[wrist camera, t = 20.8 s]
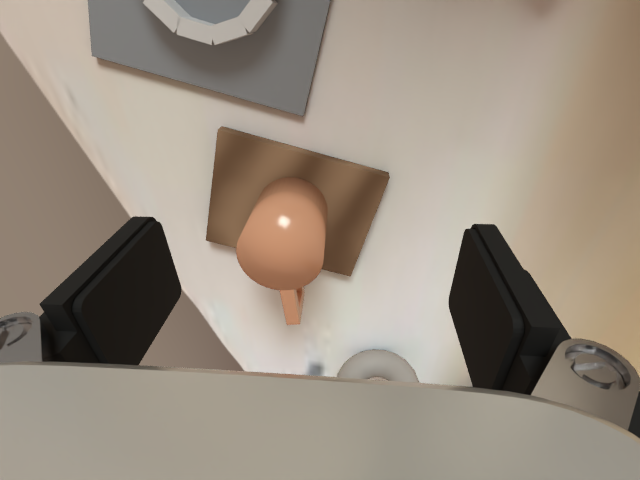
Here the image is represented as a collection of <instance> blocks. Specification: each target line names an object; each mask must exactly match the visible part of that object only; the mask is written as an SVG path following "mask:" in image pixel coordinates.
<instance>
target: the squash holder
mask: <svg viewBox="0 0 640 480" xmlns="http://www.w3.org/2000/svg"><path fill="white" fill-rule="evenodd" d="M330 1H331V0H88V9H89V23H90V36H91V50H92V56H94V57H98V58H101V59H105V60H108V61H112V62H115V63H119V64H122V65H126V66H129V67H133V68H136V69H139V70H143V71H146V72H150V73H153V74H157V75H160V76H164V77H167V78H171V79H174V80H178V81H181V82H185V83H188V84H192V85H195V86H199V87H202V88H206V89H209V90H213V91H216V92H220V93H223V94H227V95H230V96H234V97H237V98H241V99H244V100H248V101H251V102H255V103H258V104H262V105H265V106H269V107H272V108H276V109H279V110H283V111H286V112H290V113H293V114H297V115H300V116H304V112H305V108H306V104H307V99H308V95H309V91H310V87H311V82H312V78H313V74H314V69H315V65H316V61H317V57H318V52H319V48H320V44H321V39H322V35H323V31H324V26H325V22H326V18H327V14H328V9H329V5H330Z"/></svg>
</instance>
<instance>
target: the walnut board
mask: <svg viewBox="0 0 640 480" xmlns="http://www.w3.org/2000/svg"><path fill="white" fill-rule="evenodd" d="M286 177H294V178H300V179H303V180H306V181H308V182H310V183H311V184H313V185H314V186H316V187H317V188H318V189H319V190H320V192H321V193H322V194H323V196H324V198H325V200H326V203H327V207H328V215H327V227H326V238H325V249H324V260H323V265H322V269H323V270H327V271H331V272H335V273H339V274H343V275H347V276H351V274H352V271H353V269H354V266H355V264H356V261H357V259H358V256H359V254H360V251H361V249H362V246H363V244H364V241H365V239H366V236H367V233H368V231H369V228H370V226H371V223H372V221H373V218H374V216H375V213H376V211H377V208H378V206H379V203H380V201H381V198H382V196H383V193H384V190H385V188H386V185H387V183H388V180H389V178H390V177H389V173H388V172H384V171H381V170H377V169H374V168H370V167H366V166H363V165H359V164H356V163H352V162H348V161H345V160H341V159H338V158H334V157H330V156H327V155H323V154H320V153H316V152H312V151H309V150H305V149H302V148H298V147H294V146H291V145H287V144H284V143H280V142H276V141H273V140H269V139H266V138H262V137H258V136H255V135H251V134H248V133H244V132H240V131H237V130H233V129H230V128H226V127H220V128H219V129H218V133H217V142H216V152H215V161H214V170H213V179H212V188H211V198H210V207H209V216H208V225H207V235H206V241H210V242H214V243H218V244H222V245H226V246H230V247H235V248H237V242H238V239H239V237H240V235H241V233H242V231H243V229H244V227H245V225H246V223H247V221H248V219H249V217H250V214H251V212H252V210H253V208H254V206H255V204H256V202H257V200H258V198H259V196H260V194H261V192H262V191H263V189H264V188H265V187H266V186H267V185H268V184H270V183H271V182H273V181H275V180H277V179H281V178H286Z"/></svg>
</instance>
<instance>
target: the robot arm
mask: <svg viewBox="0 0 640 480" xmlns="http://www.w3.org/2000/svg"><path fill="white" fill-rule="evenodd" d="M180 295H181V285H180V282H179V278H178V275H177V272H176V269H175V266H174V263H173V259H172V256H171V253H170V250H169V247H168V243H167V240H166V237H165V234H164V231H163V227H162V225H161V223H160V222H157V221H156V220H155V218H153V217H132V218H131V219H130V220H129V221H128V222H127V223H126V224H124V226H122V227H121V228H120V229H119V230H118V231H117V232H116V233H115V234H114V235H113V236H112V237H111V238H110V239H108V241H106V242H105V243H104V244H103V245H102V246H101V247H100V248H99V249H98V250H97V251H96V252H95V253H94V254H92V256H90V257H89V258H88V259H87V260H86V261H85V262H84V263H83V264H82V265H81V266H80V267H79V268H77V270H75V271H74V272H73V273H72V274H71V275H70V276H69V277H68V278H67V279H66V280H65V281H64V282H63V283H61V284H60V285H59V286H58V287H57V288H56V289H55V290H54V291H53V292H52V293H51V294H50V295H49V296H48V297H46V299H44V300H43V301H42V302H41V303H40V306H41V307H42V309H43V310H44V313H43V314H42V315H41V316H40V317H38V315H36V314H34V313H30V312H21V313H14V314H11V315H7V316H4V317H2V318H0V480H640V391H639V390H640V378H639V376H638V374H637V372H636V370H635V369H634V367H633V366H632V365H631V364H630V363H629V362H628V361H627V360H626V359H625V358H624V357H622V356H621V355H620V354H619V353H617V352H616V351H614V350H612V349H610V348H608V347H607V346H605V345H602V344H599V343H597V342H594V341H590V340H585V339H571V337H570V336H569V334H568V333H567V331H566V329H565V328H564V326H563V325H562V323H561V322H560V320H559V319H558V317H557V315H556V314H555V312H554V311H553V309H552V308H551V306H550V305H549V303H548V301H547V300H546V298H545V297H544V295H543V294H542V292H541V291H540V289H539V287H538V286H537V284H536V283H535V281H534V280H533V278H532V277H531V275H530V274H529V273H528V272H527V271H526V270H524V269H523V268H522V266H521V265H520V263H519V261H518V260H517V258H516V257H515V255H514V254H513V252H512V250H511V249H510V247H509V246H508V244H507V242H506V241H505V239H504V238H503V236H502V235H501V233H500V231H499V230H498V228H497V227H496V226H495V225H493V224H474V225H472V227H471V229H466V230H465V232H464V235H463V239H462V244H461V248H460V252H459V257H458V261H457V265H456V270H455V274H454V278H453V283H452V287H451V291H450V296H449V309H450V312H451V316H452V319H453V322H454V326H455V329H456V332H457V336H458V339H459V342H460V345H461V349H462V352H463V355H464V359H465V362H466V365H467V368H468V372H469V375H470V378H471V382H472V385H473V387H464V386H452V385H439V384H427V383H415V382H401V381H386V380H371V379H356V378H341V377H326V376H310V375H294V374H278V373H262V372H245V371H228V370H212V369H195V368H176V367H157V366H140V365H139V363H140V361H141V360H142V358H143V357H144V355H145V353H146V352H147V350H148V348H149V347H150V345H151V344H152V342H153V340H154V339H155V337H156V335H157V334H158V332H159V330H160V329H161V327H162V326H163V324H164V322H165V321H166V319H167V317H168V316H169V314H170V313H171V311H172V309H173V308H174V306H175V304H176V303H177V301H178V299H179V298H180Z"/></svg>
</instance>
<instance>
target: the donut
mask: <svg viewBox="0 0 640 480" xmlns="http://www.w3.org/2000/svg"><path fill="white" fill-rule="evenodd" d="M337 377H341V378H356V379H370V378H372V377H382V378H384V379H386V380H388V381H401V382H415V383H419V380H418V378H417V376H416V373H415V371H414V369H413V368H412V367H411V366H410V365H409V363H408V362H407V361H406V360H405V359H403V358H402V357H400V356H399V355H397V354H395V353H392V352H389V351H386V350H374V349H373V350H368V351H362V352H360V353H358V354H356V355H354V356H352V357H351V358H350V359H348V360H347V361H346V362H345V363H344V364H343V366H342V368H341V369H340V371H339V373H338V375H337Z"/></svg>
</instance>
